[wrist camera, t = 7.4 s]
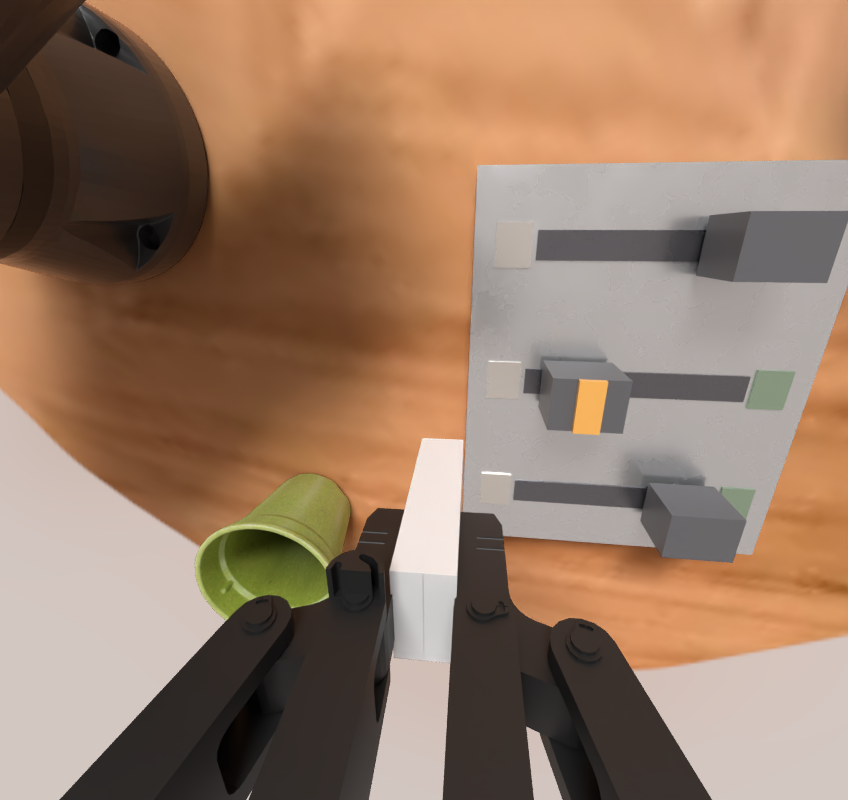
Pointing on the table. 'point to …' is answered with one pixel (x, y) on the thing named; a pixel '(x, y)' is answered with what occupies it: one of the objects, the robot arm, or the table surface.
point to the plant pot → (276, 547)
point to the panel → (637, 340)
